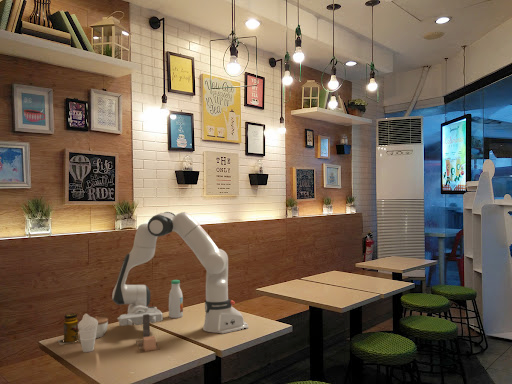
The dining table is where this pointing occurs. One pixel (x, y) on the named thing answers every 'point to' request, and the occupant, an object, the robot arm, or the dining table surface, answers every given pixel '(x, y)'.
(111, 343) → the dining table surface
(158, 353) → the dining table surface
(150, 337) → the terracotta block
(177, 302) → the milk bottle
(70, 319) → the condiment
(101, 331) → the lidded jar
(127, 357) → the dining table surface
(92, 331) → the soft serve ice cream cone
